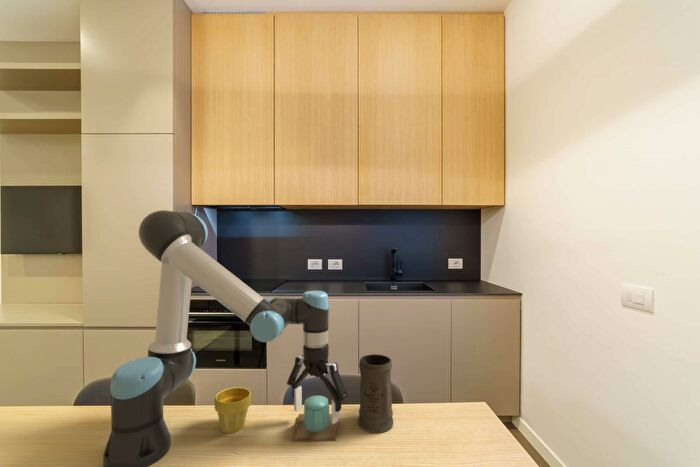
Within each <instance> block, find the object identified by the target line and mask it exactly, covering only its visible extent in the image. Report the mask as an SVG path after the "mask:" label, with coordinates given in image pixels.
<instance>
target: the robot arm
mask: <svg viewBox="0 0 700 467" xmlns="http://www.w3.org/2000/svg"><path fill="white" fill-rule="evenodd" d="M140 222H141V223H140V225H139V227H138V238H139V240H140V242H141V244H142V246H143V247H144V248H145V250H146V251H148V252H149V254H150V255H152V256H153V258H155V259H156V260H158V261H159V262H161V268H160V280H159V281H160V282H159V290H158V293H159V294H158V303H157V310H156V312H157V313H156V324H155V337H154V341H153V342H151V343H150V344H149V345H148V346H147V347H148V348H147V349H148V350H147V356H144V357H138V358H136V359H135V360H130V361H128V362H125V363H123V364H122V365H120V366H119V367H117V369H116V370H115V371H114V372H113V374H112V376H111V382H110V383H111V384H110V387H109V392H110V409H111V410H110V416H111V417H110V418H111V422H110V423H111V425H110V426H111V427H110V428H111V431H110V434H109V437H108V440H107V442H106V446H105V448H104V451H103V455H102V456H103V457H102V458H103V459H102V460H103V463H102V464H103V467H148V466H151V465H153V464H154V463H156V462H158V461H159V460H160V459H162V458H163V457H164V456H165V455H166V454H167V453H168V452H169V451H170V449H171V444H172V442H171V441H172V440H171V439H172V438H171V432H170V431H169V428H168V426H167V424H166V421H165V419H164V399H165V398H166V397H168V396H169V395H170V394H171V393H172V392H174V391H175V390H176V389H178V388H179V387H180V386H181V385H183V384H184V383H185V382H186V381H187V380H189V378H190V376H192V374H193V372H194V370H195V368H196V364H197V357H196V354H195V352H193V349H192V342H190V340H188V339H187V338H188V328H189V327H188V326H189V315H190V307H191V306H190V304H191V295H192V294H191V293H192V284H193V283H195V285H197V286H198V287H199V288H201V289H202V290H203V291H205V292H206V293H207V294H209V295H210V296H211V297H212V298H214V299H215V300H216V301H217V302H219V303H220V304H221V305H222V306H224V307H225V308H226V309H228V310H229V311H230V312H232V314H234V315H235V316H237V317H238V318H239V319H241V320H242V321H243V323H246V324H247V325H248V326H249V330H250V333H251V335H252V337H253V338H254V340H256V341H258V342H261V343H268V342H272V341H274V340H275V339H276V338H277V337H279V336H280V335H281V334H282V333H283V330H284V329H285V328H286V327H287V326H288V325H302V344H303V346H302V354H301V355H299V356H297V357H295V358H294V365H293V368H292V370H291V372H290V375H289V377H288V380H287V381H286V384H287V386H291V388H292V399H293V402H294V403H293V407H294V408H293V409H294V410H293V411H295V412H298V411H299V410H300V409H301V408H302V407H303V404H302V403H303V394H302V393H303V390H302V389H303V387H302V382H303V381H304V380H305V379H306V378H307V376H308V375H309V376H314V377H316V378H319V379H320V380H321V381H323V383H324V385H325V387H326V389H327V390H328V392H329V393H330V395H331V397H332V398H333V399H332V400H331V414H332V424H335V423H336V422H338V421H339V420H340V411H341V410H342V402H343V401H344V400H345V399H346V398H348V393H347V390H346V387H345V386H344V385H345V384H344V381H343V379H342V377H341V373H340V372H339V364H338V363H337V362H334V363H330V362H329V360H328V359H329V354H330V352H329V348H330V346H329V344H328V343H329V316H330V315H329V309H330V308H329V295H328V293H327V292H325V291H323V290H307V291H305V292H303V294H302V297H301V298H294V297H293V298H290V297H289V298H287V297H286V298H284V297H281V298H280V297H274V298H266V299H265V298H264V297H263V296H261V294H259V293H257V292H256V290H254V289H252V287H250V286H248V284H247V283H244V282H243V281H242V279H240V278H239V277H237V276H236V275H235V274H233V273H232V272H231V271H229V269H227V268H225V266H223V265H222V264H220V263H219V262H218V261H217V260H215V259H214V258H213V257H212V256H210V255H209V254H208V253H206V252H205V251H204V250H203V249H201V247H202V246H203V245H204V244H205V243H206V242H207V240H208V236H209V235H208V234H209V232H208V231H209V229H208V226H207V225H206V223H205V221H204V220H203V219H202V218H201V217H200V216H198V215H196V214H194V213H190V212H186V211H175V210H174V211H172V210H156V211H153V212H151V213H149V214H147V215H146V216H145V217H144V218H143V219H142V221H140ZM302 366H304V369H303V371H302V372H301V373H300V371H301V368H302ZM299 373H300V375H299Z"/></svg>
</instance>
